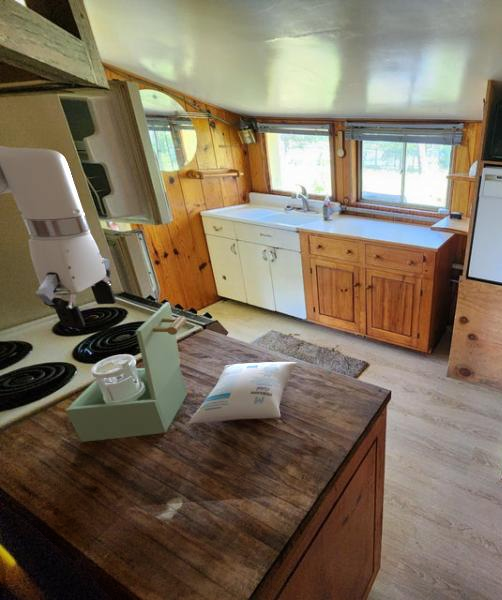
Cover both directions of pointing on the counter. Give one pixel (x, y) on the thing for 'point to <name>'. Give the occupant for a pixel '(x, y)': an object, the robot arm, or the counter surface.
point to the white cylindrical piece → (119, 388)
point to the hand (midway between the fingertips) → (91, 314)
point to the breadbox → (126, 411)
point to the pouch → (246, 392)
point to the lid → (160, 347)
